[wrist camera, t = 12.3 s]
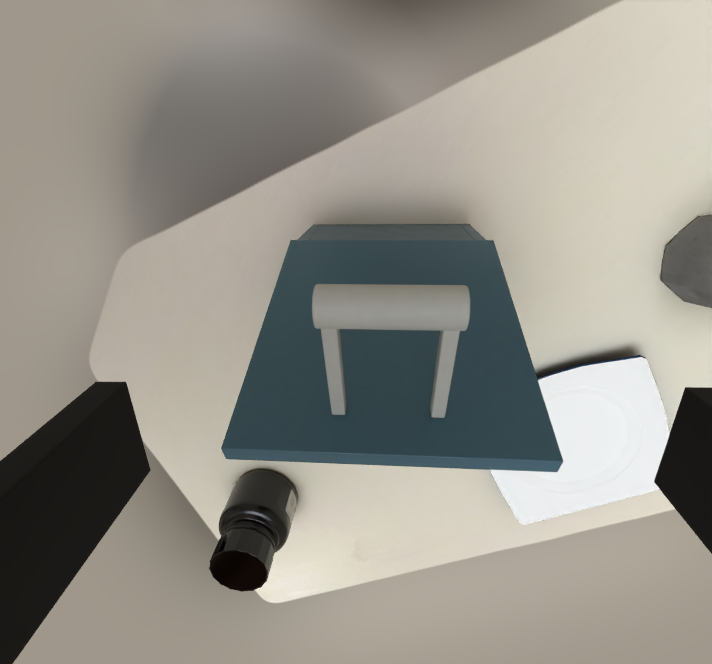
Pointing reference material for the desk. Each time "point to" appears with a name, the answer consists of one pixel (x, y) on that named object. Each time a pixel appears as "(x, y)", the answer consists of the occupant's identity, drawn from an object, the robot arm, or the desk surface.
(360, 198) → the desk surface
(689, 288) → the coffeepot
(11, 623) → the robot arm
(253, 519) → the ink bottle
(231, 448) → the lid
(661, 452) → the plate
